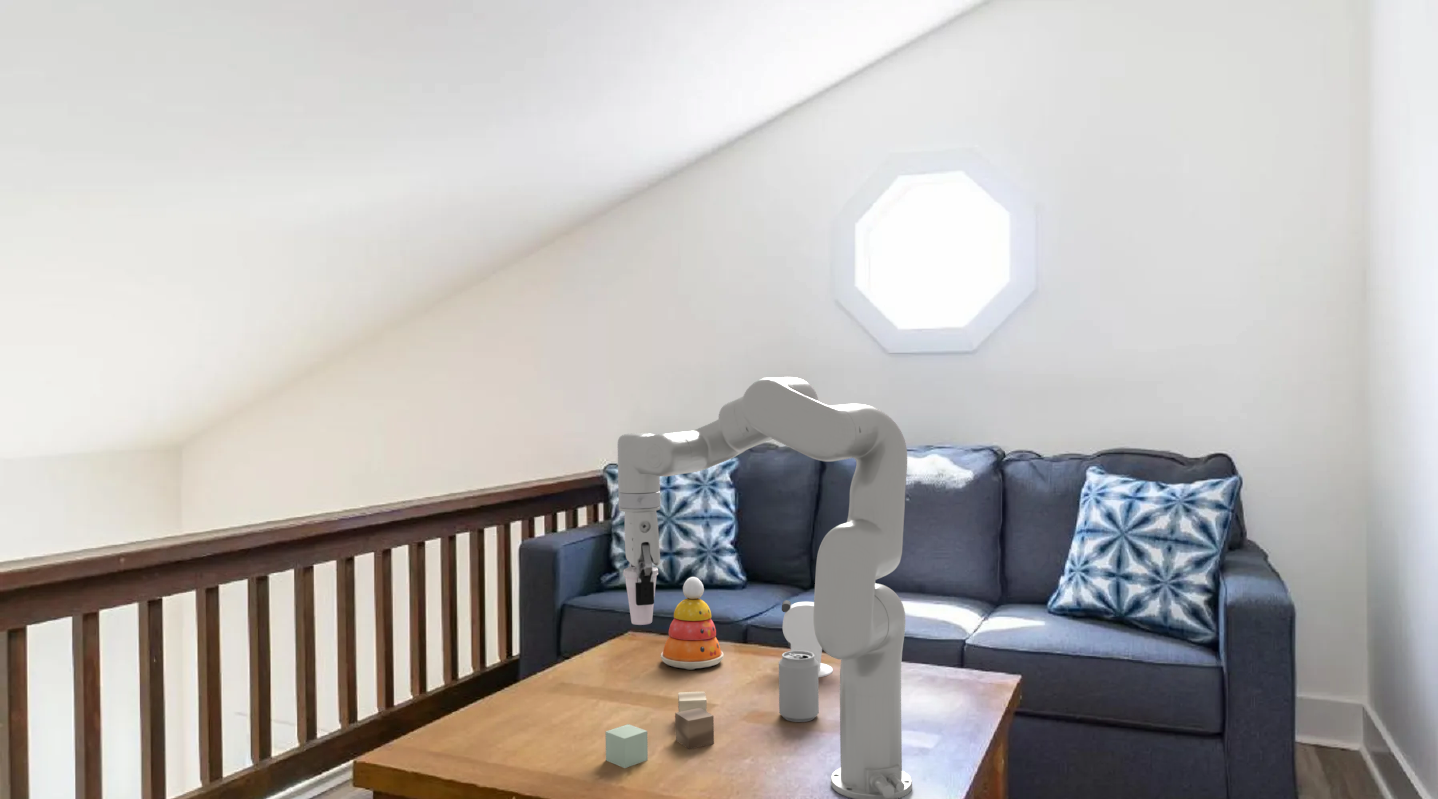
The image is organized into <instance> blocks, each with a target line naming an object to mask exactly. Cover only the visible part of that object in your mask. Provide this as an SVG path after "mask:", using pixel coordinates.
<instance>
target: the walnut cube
mask: <svg viewBox="0 0 1438 799" xmlns="http://www.w3.org/2000/svg"><path fill="white" fill-rule="evenodd" d="M674 714H675V716H674V718H675V719H674V720H675V724H674V725H675V726H674V727H675V730H674V732H675V741H677V742H678V743H679V744H681V745H682V746H684V747H685V748H686V749H688V750H691V749H695V748H700V747H705V746H709V745H713V744H715V733H714V732H715V730H714V728H715V725H714V723H715V722H714V720H715V718H714V717H715V716H714V715H713V714H711V713H709V712H708V711H707V712H706V711H704V710H703V709H701V708H697V709H692V710H687V711H682V712H679V711H677V712H675V713H674Z"/></svg>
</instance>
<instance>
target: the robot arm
mask: <svg viewBox="0 0 1438 799" xmlns="http://www.w3.org/2000/svg"><path fill="white" fill-rule="evenodd" d="M771 440H774V441H776V442H779V443H780V444H782V445H785V446H786V447H788V448H791V449H792V450H794V451H796V452H798V453H801V454H803V455H805V456H807V457H808V458H811V459H813V460H817V461H821V462H838V461H843V460H849V459H854V460H855V462H856V463H855V465H856V467H855V471H854V473H853V475H852V478H851V483H850V488H849V505H848V515H847V520H846V522H844V523H840V524H838V525H836V526H835V527H833V528H832V529H830V530H829V531H828V532H827V533H826V534H825V535H824V537H823V539H822V541H821V543H820V545H819V548H818V551H817V555H816V556H817V557H816V564H815V580H814V583H815V584H814V593H813V594H814V598H813V602H814V612H813V624H814V631H815V635H816V638H817V641H818V643H819V645H820V646H821V648H822V649H823V651H824V652H825V653H826V654H827V655H828V656H829V657H831V658H833V659H837V660H840V665H839V667H840V668H839V727H840V728H839V730H840V731H839V734H840V735H839V741H840V742H839V743H840V767H838V769H835V771H833V772H832V774H831V775H830V785H831V787H832V789H833V790H834V791H836V792H837V794H840V795H841V796H843V797H846V798H849V799H901V798H903V797H905V796H907V795H908V794H909V793H910V792H911V791H912V789H913V780H912V777H911V776H910V774H908V773H907V772H905V771H904V770H903V763H902V762H903V755H902V753H903V752H902V751H903V750H902V749H903V748H902V747H903V746H902V745H903V744H902V741H903V740H902V738H903V737H902V662H903V661H902V658H903V648H904V640H905V632H906V611H905V608H904V604H903V601H902V600H901V598H900V596H899V595H898V594H897V593H896V592H895V591H894V590H893V589H891V588H890V587H888V586H887V585H884V584H881V583H876V581H877V580H878V579H881V578H883V577H886V576H888V575H889V574H891V573H893V572H894V571H895V570H896V569H897V568H898V566H899V565H900V563H901V559H902V555H903V541H904V527H905V526H904V525H905V524H904V523H905V522H904V521H905V506H906V502H905V501H906V500H905V498H906V487H907V486H906V484H907V471H908V448H907V443H906V440H905V437H904V435H903V432H902V430H901V429H900V427H899V426H898V424H897V423H896V422H895V420H894V419H893V418H891V417H890V416H889V415H888V414H886V413H885V412H884V411H882V410H880V409H879V408H877V407H874V406H872V405H867V404H862V403H845V404H833V405H829V404H825V403H822V402H821V401H819V397H818V395H817V392H816V390H815V389H814V387H813V386H812V384H810V383H809V382H807V381H806V380H804V379H802V378H799V377H793V376H784V377H783V376H782V377H778V376H777V377H775V376H774V377H763V378H760V379H758V380H757V381H755V382H753V383H752V384H751V385H750V386H749V387H748V388H747V389H746V390H745V392H744V394H743V396H741V397H739V398H736V399H734V400H732V401H730V402H727V403H725V404H724V405H723V406H721V408H720V410H719V413H718V419H716V420H715V421H712V422H710V423H708V424H705V425H703V426H701V427H699V428H696V429H692V430H688V431H675V432H673V431H672V432H668V433H659V434H657V433H656V434H654V433H649V432H633V433H625V434H622V435H620V436H619V438H618V440H617V476H618V478H617V482H618V483H617V484H618V488H617V489H618V511H620V512H623V513H624V550H625V551H624V552H625V558H626V560H627V562H628V563H629V566H628V568H629V567H636V573H637V583H635V584H636V604H637V605H638V606H639V605H652V604H655V597H654V582H653V570H652V567H653V565H655V567H657V566H659V565H660V563H661V554H660V553H661V551H660V550H661V548H660V535H659V532H660V531H659V523H658V514H657V511H659V510H660V511H661V483H660V482H661V477H671V476H678V475H683V474H691V473H698V472H701V471H705V470H707V469H709V468H711V467H714V466H717V465H719V464H722V463H724V462H727V461H730V460H731V459H733V458H735V457H737V456H738V455H741V454H743V453H745V451H747V450H750V449H752V448H753V447H757V446H759V445H762V444H764V443H766V442H768V441H771ZM638 559H639V560H638ZM639 563H640V565H639ZM640 569H643V570H642V571H641V573H640Z"/></svg>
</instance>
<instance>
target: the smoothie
mask: <svg viewBox="0 0 1438 799" xmlns="http://www.w3.org/2000/svg"><path fill="white" fill-rule="evenodd" d="M638 560H639V559H638ZM639 565H640V563H639ZM642 570H643V569H640V573H641V571H642ZM652 570H653V582H654V598H655V594H656V585H657V576H658V575H659V569H658V567H657V566H652ZM622 575H623V577H624V578H625V579H624V580H625V586H626V592H627V601H628V608H629V613H630V614H629V615H630V621H631V624H632V625H638V626H642V625H643V626H644V625H650V624H651V623H652V622H653V617H654V616H653V615H654V604H655V603H654V604H652V605H639V606H638V605H637V604H636V584H635V583H637V573H636V567H629V566H628V567H626V568H623V573H622ZM652 624H653V623H652Z"/></svg>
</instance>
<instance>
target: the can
mask: <svg viewBox="0 0 1438 799" xmlns="http://www.w3.org/2000/svg"><path fill="white" fill-rule="evenodd" d="M814 657H815V655H814V654H813V653H811V652H808V651H791V650H789V651H785V652H783V653H782V654H781V659H780V660H779V661H778V702H779V703H778V707H779V708H778V710H779V712H778V713H779V714H780V715H781V716H782V717H783V719H784V720H787V721H789V722H795V723H803V722H804V723H805V722H809V721H810V722H811V721H812V720H814V719H815V718H816V717H817V716H818V714H819V713H820V712H819V709H820V708H819V703H820V702H819V677H818V662H817V661H816V659H815V658H814Z"/></svg>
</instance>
